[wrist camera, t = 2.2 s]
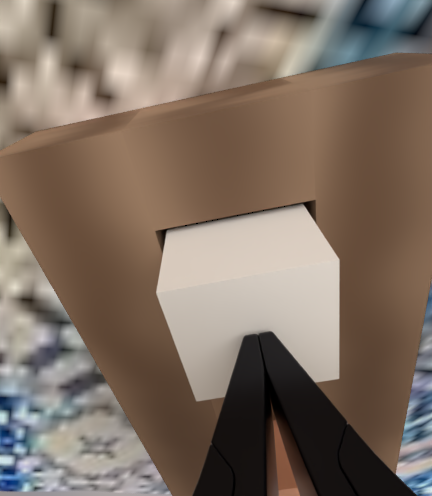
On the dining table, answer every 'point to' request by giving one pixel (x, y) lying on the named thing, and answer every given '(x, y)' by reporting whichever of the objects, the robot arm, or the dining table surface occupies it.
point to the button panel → (234, 203)
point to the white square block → (250, 293)
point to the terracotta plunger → (283, 467)
